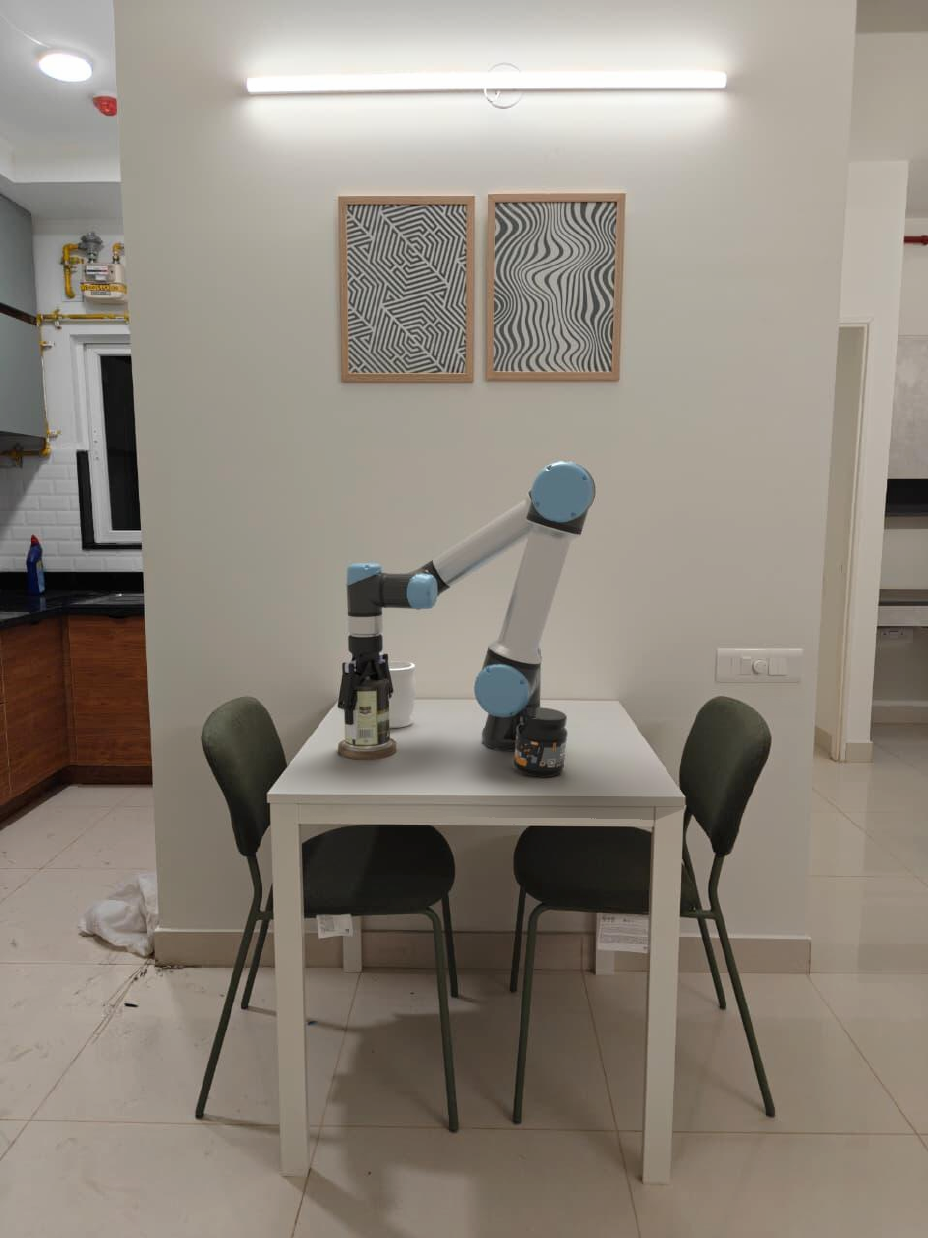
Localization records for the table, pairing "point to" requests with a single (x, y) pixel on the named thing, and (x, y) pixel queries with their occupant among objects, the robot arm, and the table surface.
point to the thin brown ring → (367, 751)
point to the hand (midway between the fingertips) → (367, 732)
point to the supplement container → (540, 741)
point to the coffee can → (371, 715)
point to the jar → (401, 693)
